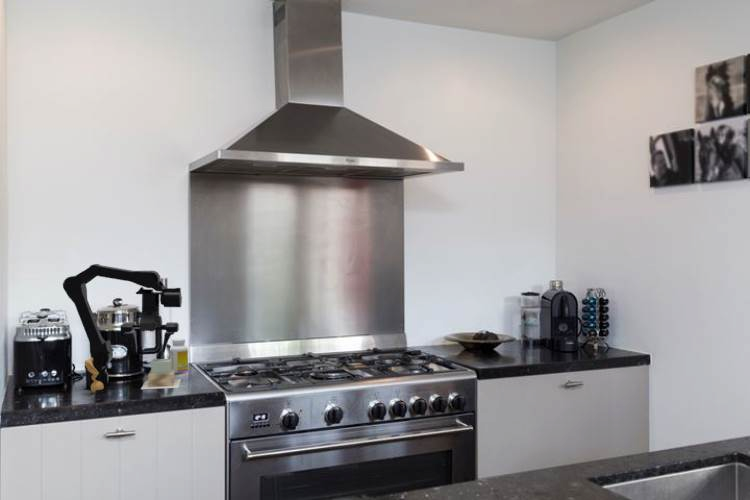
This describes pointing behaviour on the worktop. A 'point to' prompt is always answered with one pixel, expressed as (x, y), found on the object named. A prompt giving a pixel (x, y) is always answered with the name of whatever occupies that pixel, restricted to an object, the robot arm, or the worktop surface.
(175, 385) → the baseplate
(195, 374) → the worktop surface
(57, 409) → the worktop surface
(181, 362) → the supplement bottle
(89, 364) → the figurine
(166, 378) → the wood brick
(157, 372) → the sage brick
